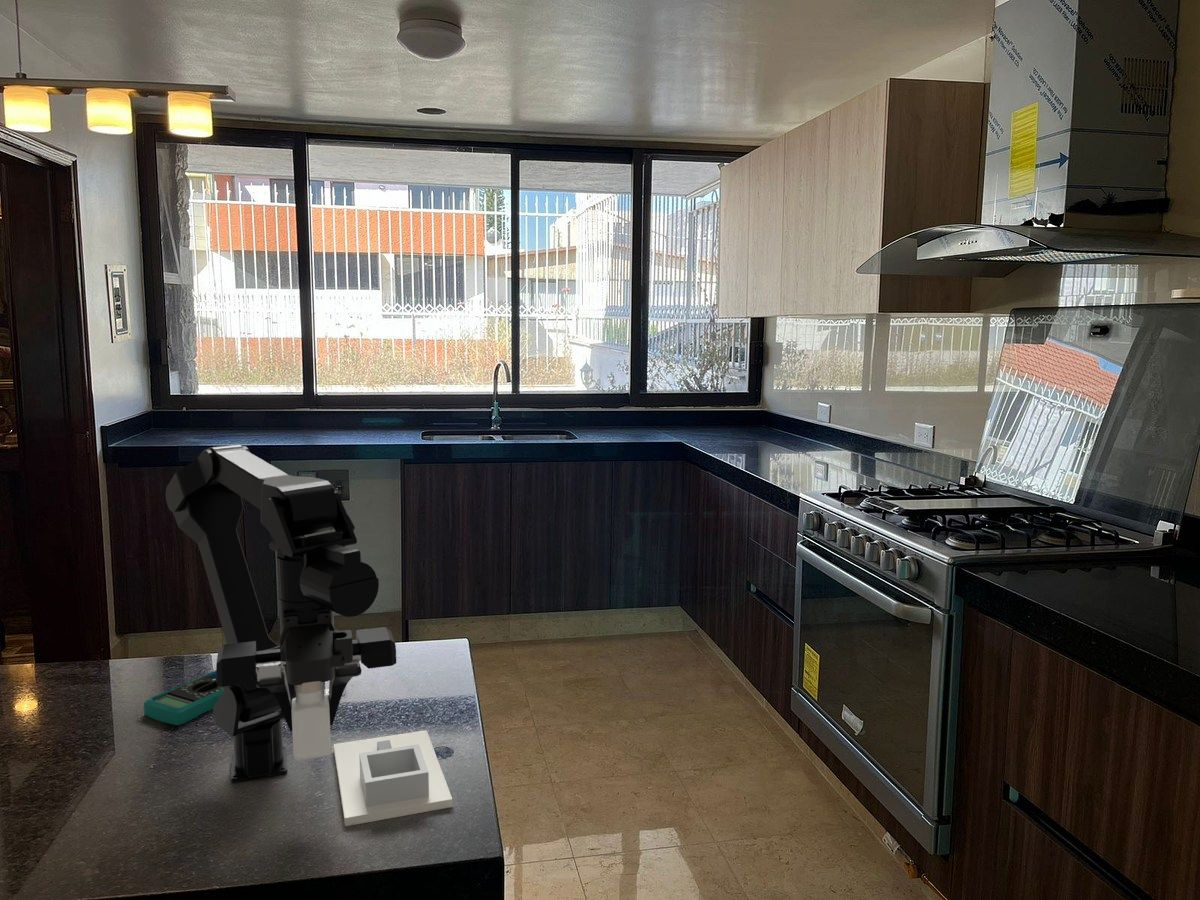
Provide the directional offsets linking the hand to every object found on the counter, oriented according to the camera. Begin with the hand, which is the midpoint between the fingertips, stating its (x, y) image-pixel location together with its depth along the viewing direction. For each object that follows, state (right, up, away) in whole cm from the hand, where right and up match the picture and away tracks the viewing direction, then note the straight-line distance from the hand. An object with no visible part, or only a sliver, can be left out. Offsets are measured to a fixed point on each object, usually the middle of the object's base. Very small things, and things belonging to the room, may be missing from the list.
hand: (311, 727), depth 101 cm
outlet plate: (+7, -9, +8) cm, 14 cm away
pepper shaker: (0, -3, 0) cm, 3 cm away
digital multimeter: (-25, -6, +29) cm, 39 cm away
